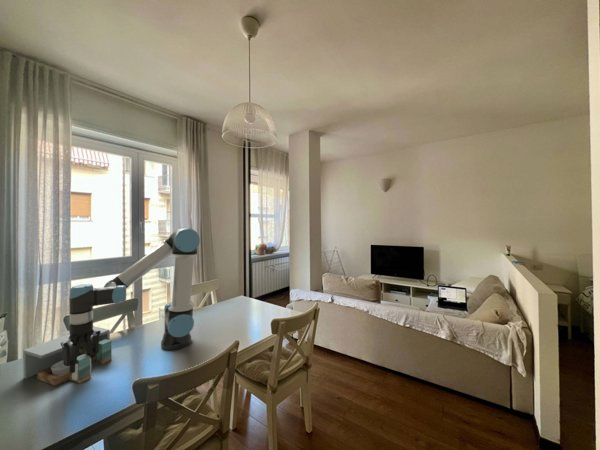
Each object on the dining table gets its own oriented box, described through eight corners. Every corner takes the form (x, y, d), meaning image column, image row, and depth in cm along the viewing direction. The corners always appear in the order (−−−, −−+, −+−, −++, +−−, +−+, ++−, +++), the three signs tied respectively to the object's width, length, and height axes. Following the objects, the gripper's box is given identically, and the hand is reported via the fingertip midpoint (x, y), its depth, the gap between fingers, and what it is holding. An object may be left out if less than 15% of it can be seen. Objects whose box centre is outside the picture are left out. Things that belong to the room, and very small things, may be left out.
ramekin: (47, 381, 105) (47, 371, 104) (55, 370, 112) (55, 361, 112) (75, 375, 109) (75, 365, 109) (80, 365, 117) (80, 356, 117)
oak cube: (98, 355, 125) (98, 345, 125) (88, 360, 120) (87, 350, 120) (89, 354, 126) (89, 344, 126) (79, 359, 121) (79, 349, 121)
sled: (102, 371, 111) (102, 350, 111) (66, 390, 99) (66, 366, 99) (73, 363, 118) (73, 343, 118) (37, 379, 106) (37, 357, 106)
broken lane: (116, 357, 123) (116, 338, 123) (96, 367, 114) (96, 346, 114) (93, 351, 129) (93, 332, 129) (72, 360, 121) (72, 340, 121)
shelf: (109, 353, 127) (109, 329, 127) (41, 384, 102) (41, 355, 102) (92, 348, 132) (92, 326, 132) (23, 377, 107) (23, 349, 107)
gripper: (98, 313, 115) (98, 363, 115) (50, 328, 99) (50, 386, 99) (108, 315, 112) (109, 366, 112) (61, 331, 96) (61, 390, 96)
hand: (81, 375), depth 106 cm, fingers closed on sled, 4 cm apart
